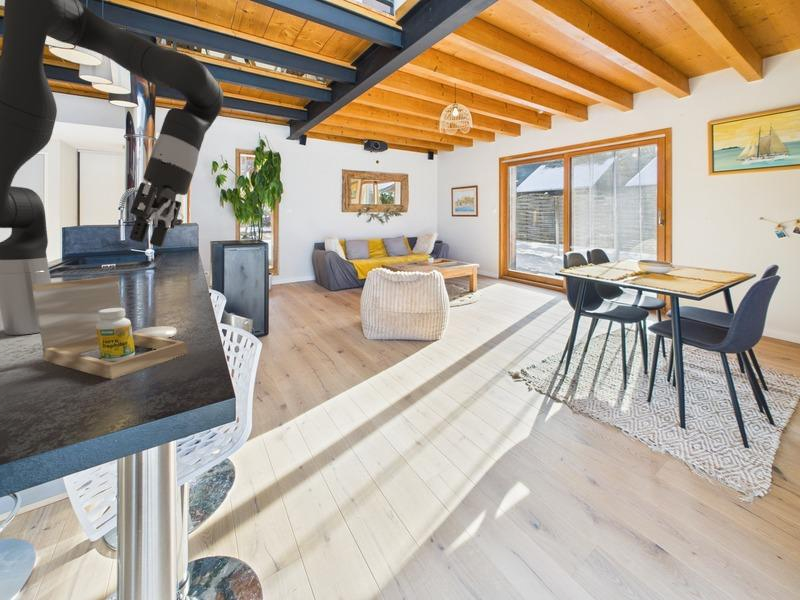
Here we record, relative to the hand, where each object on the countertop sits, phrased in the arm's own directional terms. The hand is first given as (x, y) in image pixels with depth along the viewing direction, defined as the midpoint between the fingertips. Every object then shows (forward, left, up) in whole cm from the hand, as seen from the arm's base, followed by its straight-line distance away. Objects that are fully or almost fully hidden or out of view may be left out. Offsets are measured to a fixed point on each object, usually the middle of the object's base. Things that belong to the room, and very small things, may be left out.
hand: (146, 243), depth 72 cm
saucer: (-10, +6, -22) cm, 25 cm away
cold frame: (-3, -6, -22) cm, 23 cm away
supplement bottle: (-3, -6, -22) cm, 23 cm away
